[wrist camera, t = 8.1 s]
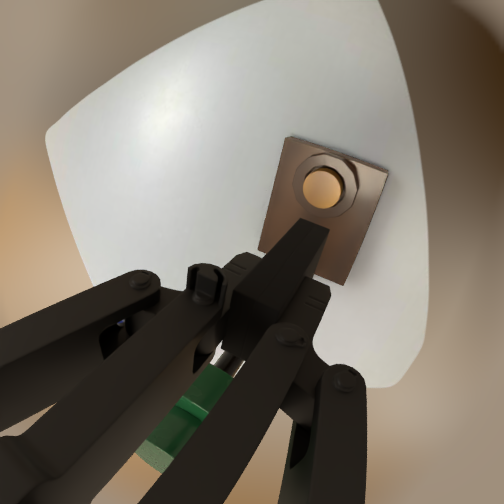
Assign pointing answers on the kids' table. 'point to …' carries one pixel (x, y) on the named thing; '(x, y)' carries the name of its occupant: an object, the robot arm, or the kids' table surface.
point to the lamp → (188, 413)
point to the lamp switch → (323, 188)
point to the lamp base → (334, 218)
